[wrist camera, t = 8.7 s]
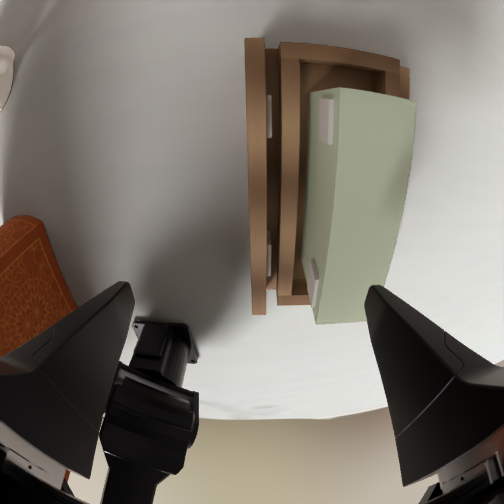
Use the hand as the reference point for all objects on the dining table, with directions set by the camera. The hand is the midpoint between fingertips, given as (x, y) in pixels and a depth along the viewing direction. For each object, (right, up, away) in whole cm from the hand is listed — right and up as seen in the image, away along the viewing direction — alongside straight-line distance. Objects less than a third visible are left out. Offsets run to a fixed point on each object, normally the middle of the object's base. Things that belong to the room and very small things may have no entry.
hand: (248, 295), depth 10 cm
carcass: (+6, +7, +9) cm, 13 cm away
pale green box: (+5, +6, +8) cm, 11 cm away
